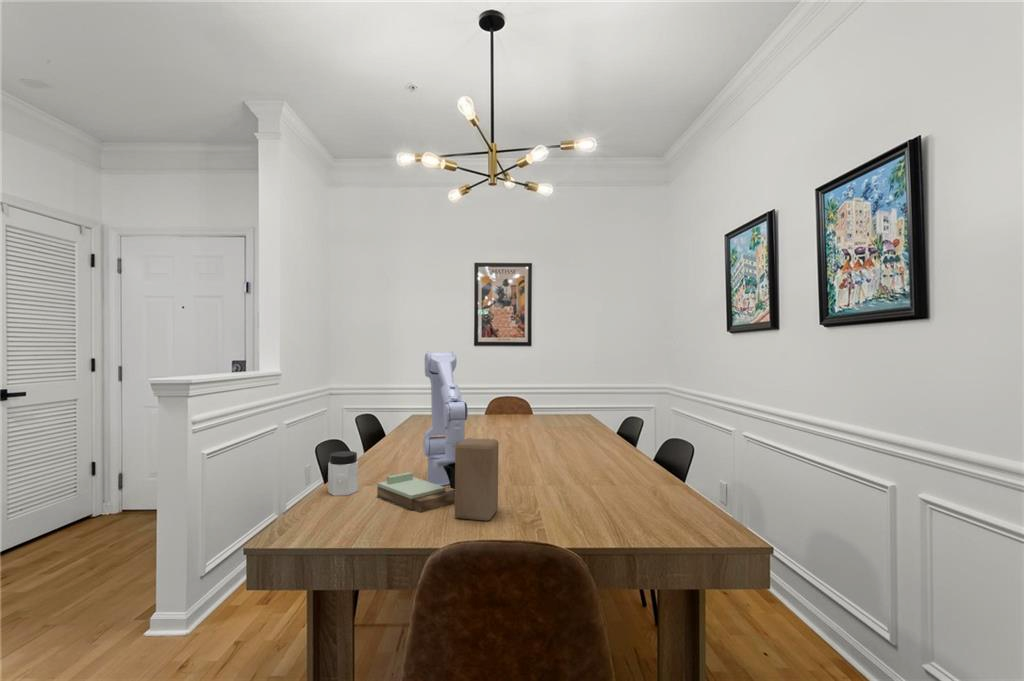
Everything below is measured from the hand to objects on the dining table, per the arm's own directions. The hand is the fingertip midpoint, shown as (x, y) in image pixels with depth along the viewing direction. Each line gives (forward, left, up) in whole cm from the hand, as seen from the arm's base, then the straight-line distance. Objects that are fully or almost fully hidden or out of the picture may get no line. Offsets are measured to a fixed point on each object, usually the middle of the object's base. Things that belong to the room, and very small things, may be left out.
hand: (454, 488), depth 151 cm
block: (+3, +13, -4) cm, 14 cm away
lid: (+8, -11, -1) cm, 13 cm away
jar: (+19, -32, -4) cm, 37 cm away
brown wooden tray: (+5, -9, -4) cm, 11 cm away
